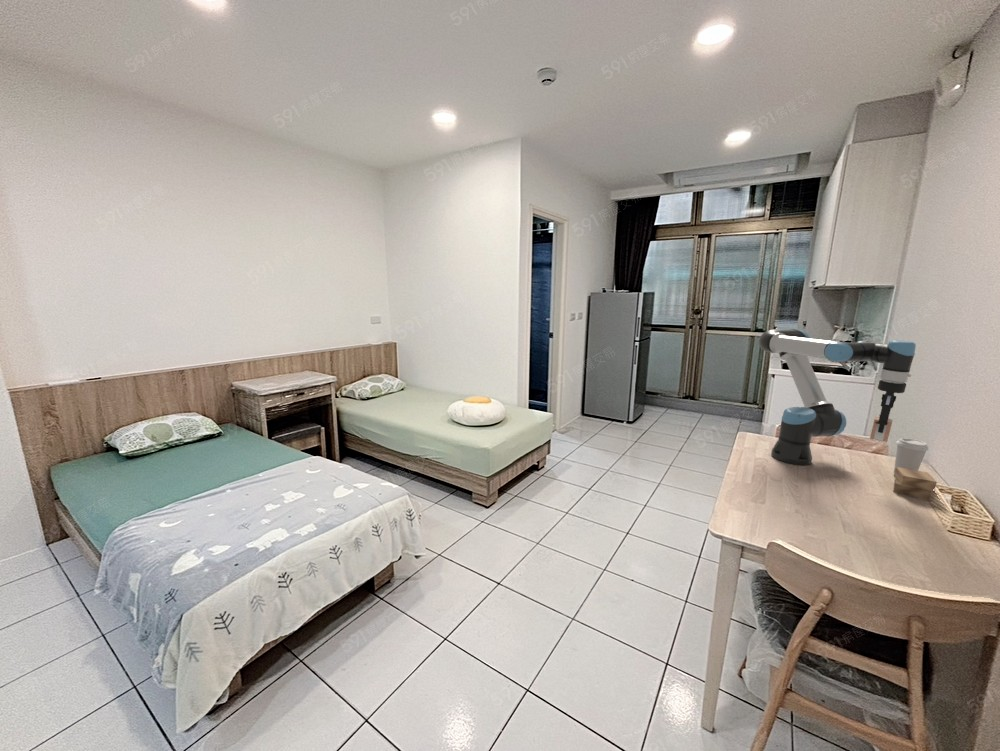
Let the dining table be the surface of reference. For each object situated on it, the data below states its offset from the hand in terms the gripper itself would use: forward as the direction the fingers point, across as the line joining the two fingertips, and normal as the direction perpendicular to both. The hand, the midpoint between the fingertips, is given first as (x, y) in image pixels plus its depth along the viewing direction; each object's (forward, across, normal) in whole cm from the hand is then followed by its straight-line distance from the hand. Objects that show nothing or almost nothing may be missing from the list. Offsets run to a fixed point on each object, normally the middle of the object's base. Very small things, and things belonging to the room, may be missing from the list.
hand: (878, 437), depth 158 cm
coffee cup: (+19, +19, -10) cm, 29 cm away
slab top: (+15, 0, -12) cm, 19 cm away
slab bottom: (+19, 0, -12) cm, 23 cm away
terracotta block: (0, 0, 0) cm, 0 cm away
